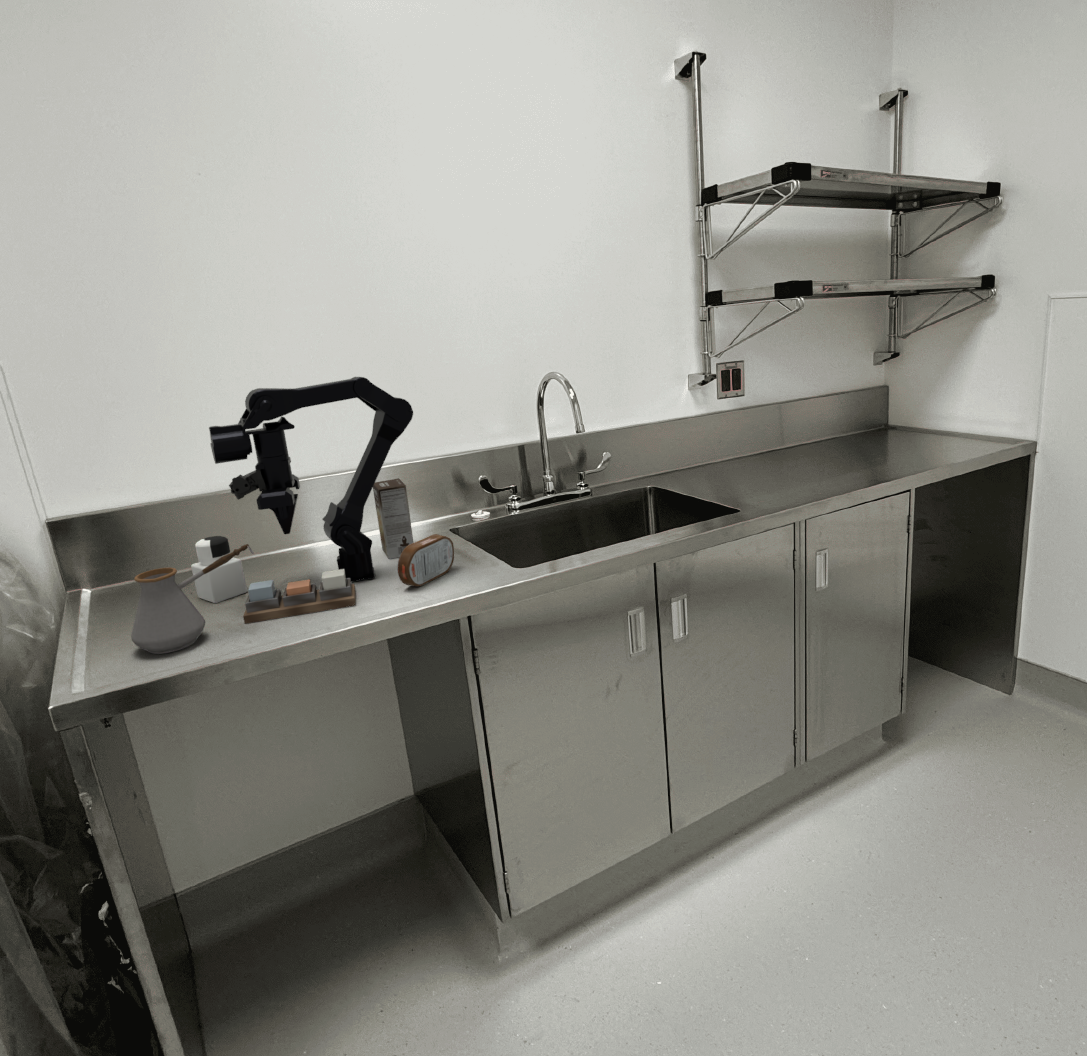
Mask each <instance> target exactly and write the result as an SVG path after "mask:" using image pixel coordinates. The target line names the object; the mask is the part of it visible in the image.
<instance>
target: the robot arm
mask: <svg viewBox="0 0 1087 1056" xmlns="http://www.w3.org/2000/svg"><path fill="white" fill-rule="evenodd" d="M353 399H358V400H360V401H361V402H363V404H365V405H366V406H367V407H369V408H370V409H371V410H373V411H374V412H375V413H374V416H373V420H372V430H371V431H372V433H371V437H370V439H369V441H368V443H367V445H366V448H365V449H364V452H363V454H362V456H361V458H360V460H359V463H358V466H357V468H356V470H355V472H354V475H353V476H352V479H351V481H350V482H349V484H348V488H347V489H346V492H345V493H344V496H343V498H342V499H341V500H340V501H339V502H338V503H337V504H336V503H334V502H332V501H331V502H330V503H329V505H328V509H327V513H326V514H325V516H324V517H323V518H322V521H323V522H324V523H323V531H324V534H325V536H326V537H327V538H328V539H329V540H331V542H332V543H333V544H334V545H336V546H338V547H339V548H338V556H337V557H336V563H337V570H340V569H344V570H345V576H346V578H350V579H351V583H353V582H358V581H365V580H371V579H376V575H375V566H374V563H373V557H372V551H371V549H372V545H373V540H372V539H371V538H370V537H368V536H367V535H366V534H364V532H362V531H361V529H362V525H363V521H364V520H363V519H364V509H365V506H366V503H367V501H368V500H369V499H368V498H369V497H370V494H371V493H372V491H373V485H374V483H375V482H377V479H378V477H379V474H380V473H381V470H382V468H383V466H384V463H385V462H386V459H387V457H388V455H389V452H390V449H391V447H392V445H393V444H394V443H395V441H396V440H398V438H399V437H400V436H401V435H403V434H404V431H405V430H406V429H407V427H408V426H409V424H410V423H411V421H412V419H413V416H414V410H413V407H412V405H411V404H410V402H409V401H408V400H406V399H404V398H401V397H396V396H395V397H394V396H393V395H392V394H390V393H389V392H387V391H385V390H383V389H382V388H380V387H378V386H377V385H376V384H374V383H372V382H371V381H370V380H369V379H368V378H366V377H364V376H353V377H352V378H348V379H342V380H336V381H331V382H325V383H319V384H313V385H309V386H308V385H307V386H302V387H296V388H282V387H281V388H279V387H278V388H277V387H272V388H270V387H269V388H268V387H263V388H262V387H259V388H255V389H252V390H250V391H249V393H247V395H246V397H245V401H244V402H245V403H244V404H245V410H244V412H243V413H242V415H241V417H240V418H239V421H238V423H236V424H228V425H221V426H220V425H212V426H209V427H208V430H209V438H210V449H211V453H212V456H213V460H214V461H213V462H214V463H215V465H218V464H222V463H230V462H237V461H243V460H248V456H250V455H251V454H253V446H252V442H251V436H250V435H252V439H253V444H254V450H255V455H256V460H257V463H256V465H255V466H254V468H255V470H253V471H252V470H251V471H250V472H249V473H246V474H244V475H243V474H239V475H237V476H236V477H233V478H231V482H230V483H229V484H228V487H229V488H230V493H231V494H233V495H234V496H235V498H236V499H237V500H241V499H243V498H244V497H245V496H247V495H248V494H250V493H253V492H254V491H257V490H258V491H259V492H260V493H259V495H258V497H257V498H256V504H257V505H256V506H257V510H261V511H262V510H271V511H272V512H273V514H274V515H275V517H276V520H277V522H278V524H279V526H280V528H281V531H282V532H283V534H284V535H289V534H291V530H292V525H293V521H294V516H295V511H296V506H297V502H298V497H299V494H298V493H294V491H293V490H292V488H295V490H300V488H301V485H300V484H301V483H300V479H299V477H298V476H297V475H295V474H294V473H292V467H291V462H292V460H291V456H289V455H290V454H289V451H288V445H287V439H286V432H285V431H286V430H287V431H288V430H293V429H295V425H294V424H293V423H291V422H289V421H288V420H287V419H286V417H284V416H286V415H288V414H290V413H292V412H294V411H296V410H301V409H302V408H308V407H313V406H319V405H324V404H329V403H335V402H341V401H346V400H353ZM277 418H279V419H278V420H277V421H273V420H275V419H277ZM266 421H269V422H266ZM261 424H262V428H258V427H259V426H260V425H261Z"/></svg>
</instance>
